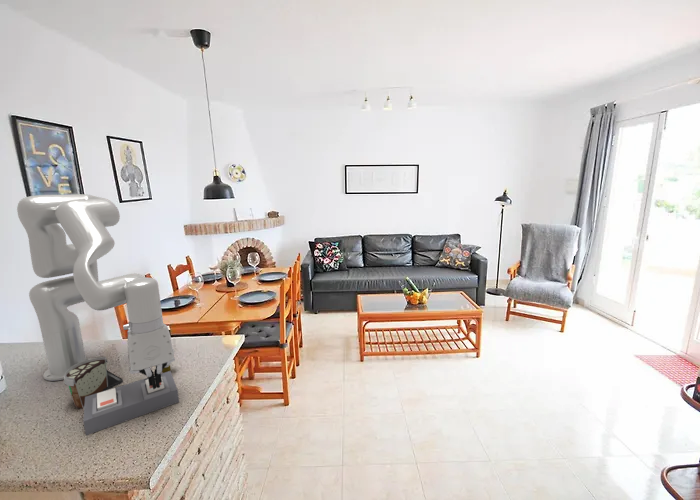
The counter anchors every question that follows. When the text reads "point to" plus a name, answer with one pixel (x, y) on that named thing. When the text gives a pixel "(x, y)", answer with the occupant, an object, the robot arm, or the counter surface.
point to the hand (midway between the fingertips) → (155, 386)
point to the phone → (112, 380)
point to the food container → (86, 379)
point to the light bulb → (167, 367)
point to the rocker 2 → (150, 388)
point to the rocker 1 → (106, 399)
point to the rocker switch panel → (129, 403)
